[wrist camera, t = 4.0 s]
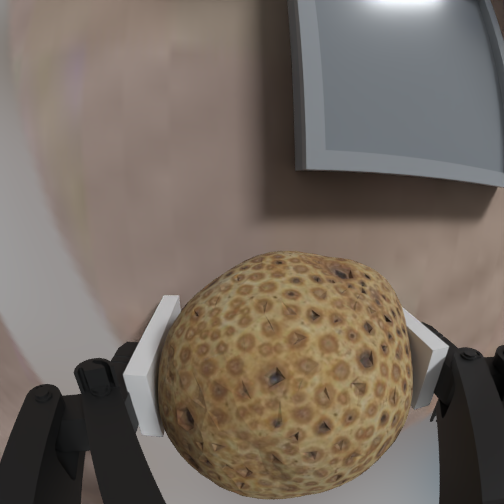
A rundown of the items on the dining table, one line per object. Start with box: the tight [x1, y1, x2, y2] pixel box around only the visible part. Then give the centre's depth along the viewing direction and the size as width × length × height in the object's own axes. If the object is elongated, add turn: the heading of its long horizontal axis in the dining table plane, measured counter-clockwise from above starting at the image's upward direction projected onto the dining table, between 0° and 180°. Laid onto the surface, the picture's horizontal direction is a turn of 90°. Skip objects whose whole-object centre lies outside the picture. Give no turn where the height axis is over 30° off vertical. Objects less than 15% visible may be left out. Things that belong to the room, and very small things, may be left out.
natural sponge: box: [158, 251, 413, 499], centre depth 10 cm, size 9×9×10 cm
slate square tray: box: [287, 0, 504, 188], centre depth 11 cm, size 14×14×2 cm
